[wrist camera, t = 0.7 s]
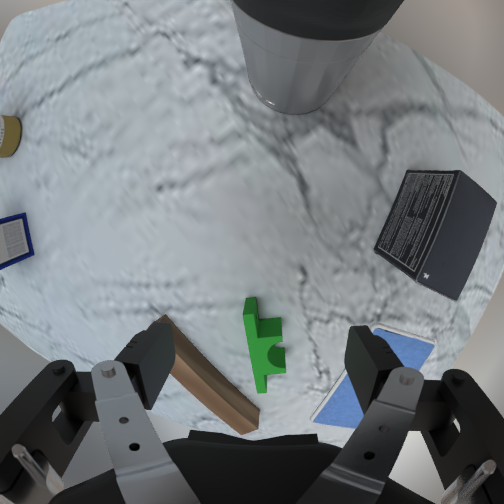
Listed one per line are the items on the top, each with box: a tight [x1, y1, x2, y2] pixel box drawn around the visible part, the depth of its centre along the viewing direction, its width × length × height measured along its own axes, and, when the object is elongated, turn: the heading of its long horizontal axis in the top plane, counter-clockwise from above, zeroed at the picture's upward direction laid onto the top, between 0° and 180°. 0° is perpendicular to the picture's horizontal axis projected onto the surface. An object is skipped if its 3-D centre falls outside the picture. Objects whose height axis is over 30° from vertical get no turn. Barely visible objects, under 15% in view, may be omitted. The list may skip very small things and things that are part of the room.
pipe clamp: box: [243, 297, 286, 393], centre depth 32 cm, size 11×4×5 cm, turn 8°
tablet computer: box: [310, 323, 436, 429], centre depth 35 cm, size 19×13×1 cm, turn 160°
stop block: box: [146, 314, 260, 435], centre depth 34 cm, size 3×20×4 cm, turn 37°
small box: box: [374, 170, 497, 301], centre depth 24 cm, size 11×6×10 cm, turn 158°
